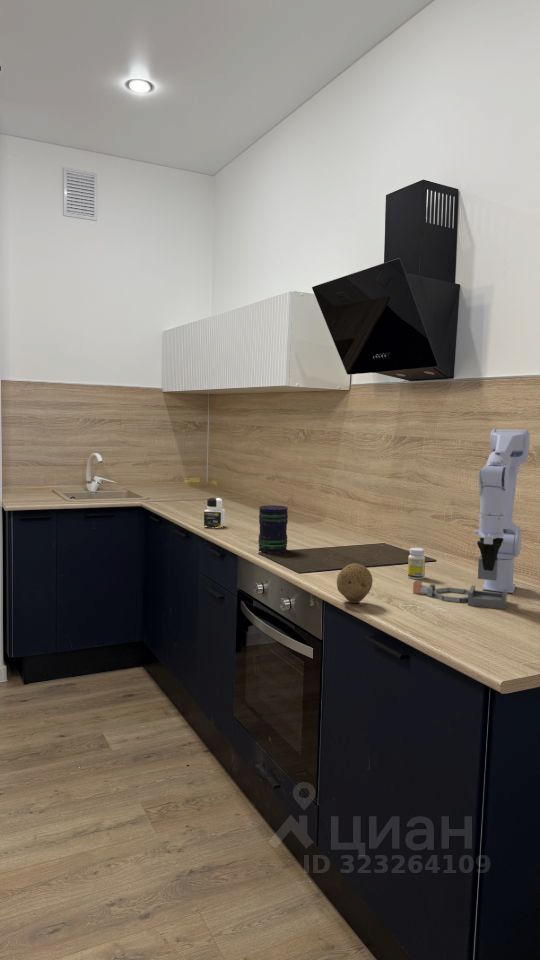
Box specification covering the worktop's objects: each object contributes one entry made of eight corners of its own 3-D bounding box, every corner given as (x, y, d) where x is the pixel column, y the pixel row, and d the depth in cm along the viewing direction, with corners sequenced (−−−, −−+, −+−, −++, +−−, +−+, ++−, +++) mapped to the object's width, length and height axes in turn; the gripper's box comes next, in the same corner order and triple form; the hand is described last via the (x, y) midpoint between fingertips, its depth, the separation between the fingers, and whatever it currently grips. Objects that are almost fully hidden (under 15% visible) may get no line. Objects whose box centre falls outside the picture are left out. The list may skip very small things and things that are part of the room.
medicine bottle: (203, 528, 280) (203, 498, 279) (208, 525, 287) (208, 496, 286) (220, 528, 279) (221, 499, 278) (224, 526, 286) (225, 497, 285)
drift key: (415, 590, 184) (415, 580, 184) (432, 592, 182) (432, 582, 182) (413, 593, 182) (413, 582, 181) (430, 595, 180) (430, 584, 180)
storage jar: (281, 547, 242) (282, 505, 240) (291, 552, 233) (292, 508, 231) (254, 548, 239) (255, 505, 237) (263, 554, 229) (264, 509, 228)
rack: (471, 597, 178) (471, 585, 178) (506, 601, 175) (507, 589, 175) (467, 605, 171) (468, 592, 171) (504, 609, 168) (505, 596, 167)
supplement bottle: (413, 575, 203) (414, 546, 202) (427, 577, 200) (428, 549, 199) (404, 577, 200) (405, 548, 199) (418, 580, 196) (419, 551, 195)
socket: (432, 589, 186) (432, 581, 186) (477, 594, 182) (478, 586, 182) (425, 598, 177) (425, 590, 176) (473, 604, 172) (473, 596, 172)
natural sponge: (369, 609, 165) (370, 568, 164) (332, 606, 167) (333, 566, 167) (373, 600, 174) (375, 561, 173) (338, 597, 176) (339, 558, 175)
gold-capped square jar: (479, 575, 175) (480, 546, 175) (497, 576, 174) (499, 547, 173) (477, 578, 171) (479, 548, 171) (496, 580, 170) (497, 550, 169)
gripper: (478, 509, 179) (475, 561, 180) (471, 516, 166) (469, 572, 167) (506, 511, 176) (504, 563, 178) (502, 518, 163) (500, 575, 164)
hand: (489, 568), depth 172 cm, fingers closed on gold-capped square jar, 4 cm apart
